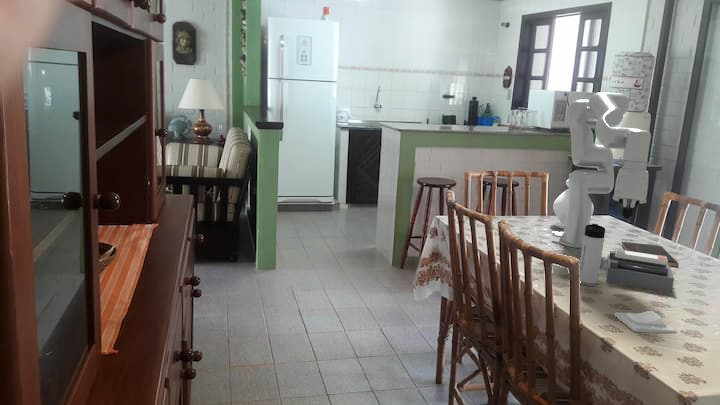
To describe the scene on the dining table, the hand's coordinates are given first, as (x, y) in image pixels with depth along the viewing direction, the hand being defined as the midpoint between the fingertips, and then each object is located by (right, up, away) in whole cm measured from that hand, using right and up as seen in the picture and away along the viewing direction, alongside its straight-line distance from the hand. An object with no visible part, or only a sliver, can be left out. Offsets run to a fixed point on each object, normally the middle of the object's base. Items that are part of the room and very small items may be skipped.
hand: (626, 218), depth 200 cm
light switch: (-12, -30, -37) cm, 49 cm away
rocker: (+4, -13, -2) cm, 14 cm away
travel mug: (-16, -22, -6) cm, 28 cm away
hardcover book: (+23, -17, +30) cm, 41 cm away
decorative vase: (+6, -6, +70) cm, 70 cm away
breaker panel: (+3, -22, 0) cm, 22 cm away
